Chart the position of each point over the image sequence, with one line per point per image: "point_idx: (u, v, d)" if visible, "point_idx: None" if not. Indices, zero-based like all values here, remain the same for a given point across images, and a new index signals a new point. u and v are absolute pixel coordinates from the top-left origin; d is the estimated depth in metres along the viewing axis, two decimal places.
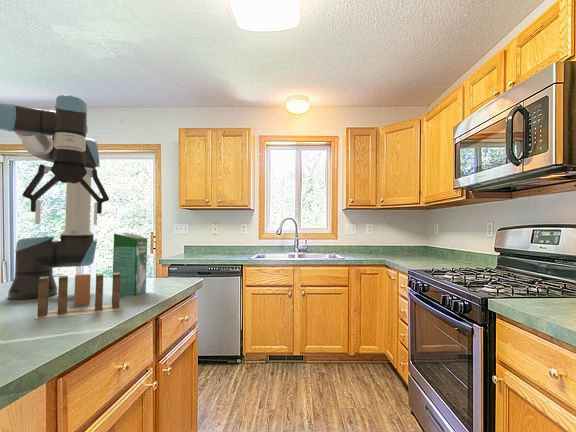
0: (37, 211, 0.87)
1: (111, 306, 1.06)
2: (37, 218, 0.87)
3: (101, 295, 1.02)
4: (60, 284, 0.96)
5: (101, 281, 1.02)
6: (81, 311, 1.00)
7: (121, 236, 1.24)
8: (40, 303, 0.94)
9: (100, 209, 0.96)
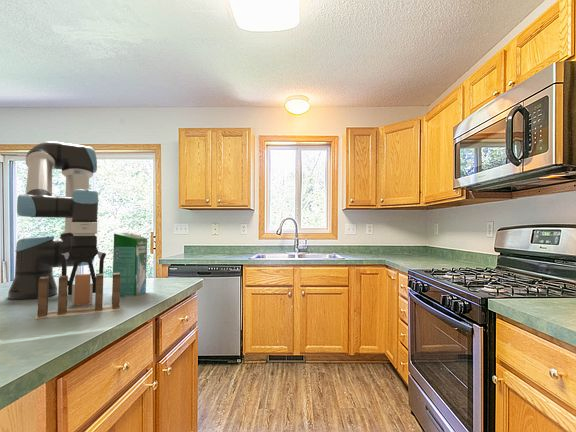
0: (73, 295, 1.07)
1: (111, 306, 1.06)
2: (73, 300, 1.07)
3: (101, 295, 1.02)
4: (60, 284, 0.96)
5: (101, 281, 1.02)
6: (81, 311, 1.00)
7: (121, 236, 1.24)
8: (40, 303, 0.94)
9: (95, 289, 1.11)
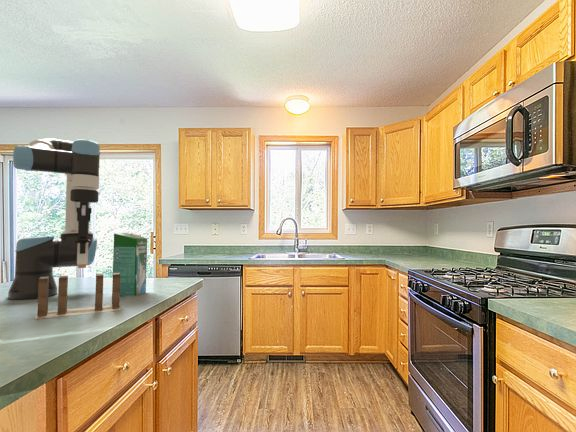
0: None
1: (111, 306, 1.06)
2: None
3: (101, 295, 1.02)
4: (60, 284, 0.96)
5: (101, 281, 1.02)
6: (81, 311, 1.00)
7: (121, 236, 1.24)
8: (40, 303, 0.94)
9: (79, 249, 0.98)
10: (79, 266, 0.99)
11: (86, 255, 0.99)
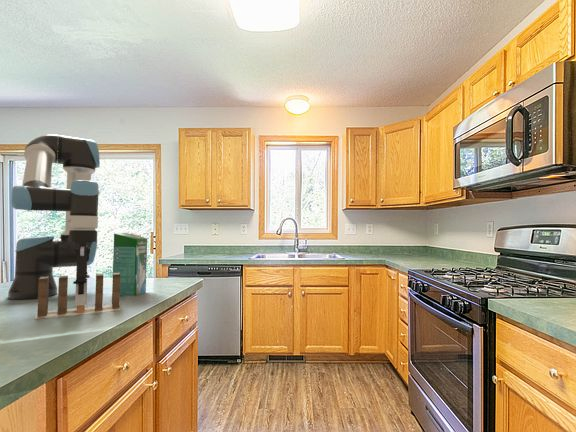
0: None
1: (111, 306, 1.06)
2: None
3: (101, 295, 1.02)
4: (60, 284, 0.96)
5: (101, 281, 1.02)
6: None
7: (121, 236, 1.24)
8: (40, 303, 0.94)
9: (78, 290, 0.96)
10: (77, 311, 0.98)
11: (85, 295, 0.97)
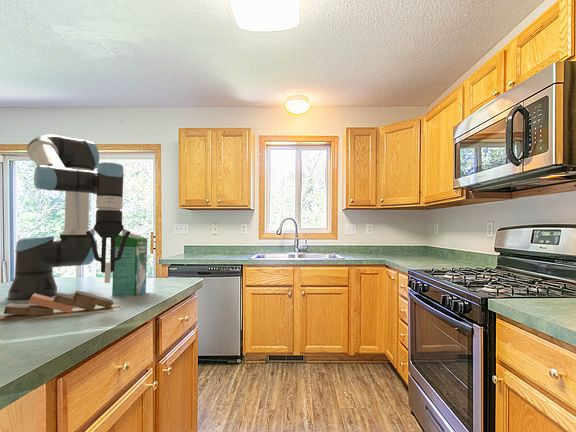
0: (106, 272, 1.03)
1: None
2: (106, 278, 1.03)
3: (79, 301, 0.99)
4: (13, 312, 0.91)
5: (62, 298, 0.97)
6: (81, 311, 1.00)
7: (121, 236, 1.24)
8: None
9: (113, 268, 1.05)
10: (69, 311, 0.97)
11: None
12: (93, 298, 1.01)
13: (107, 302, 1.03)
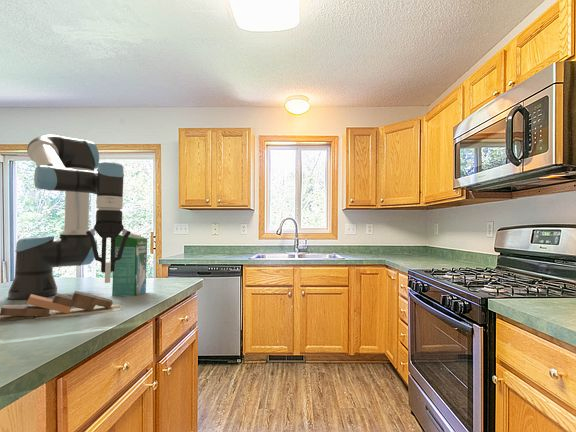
0: (106, 272, 1.03)
1: (111, 306, 1.06)
2: (106, 278, 1.03)
3: (78, 302, 0.98)
4: (9, 313, 0.89)
5: (62, 298, 0.96)
6: (81, 311, 1.00)
7: (121, 236, 1.24)
8: None
9: (113, 268, 1.05)
10: (67, 312, 0.97)
11: None
12: (92, 298, 1.01)
13: (106, 302, 1.03)
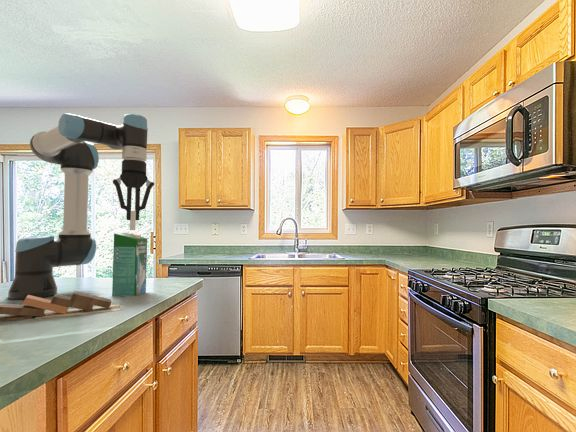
0: (132, 219, 1.07)
1: (111, 306, 1.06)
2: (132, 225, 1.07)
3: (76, 302, 0.98)
4: (4, 312, 0.89)
5: (60, 299, 0.96)
6: (81, 311, 1.00)
7: (121, 236, 1.24)
8: None
9: (138, 216, 1.09)
10: (64, 312, 0.97)
11: None
12: (91, 298, 1.00)
13: (105, 302, 1.02)
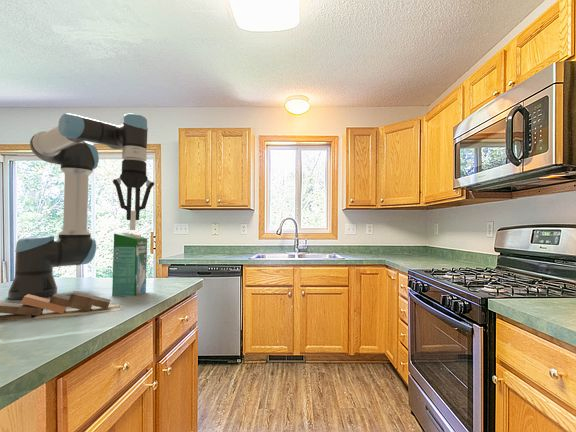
0: (132, 219, 1.07)
1: (111, 306, 1.06)
2: (132, 225, 1.07)
3: (74, 302, 0.98)
4: (1, 311, 0.90)
5: (58, 299, 0.97)
6: (81, 311, 1.00)
7: (121, 236, 1.24)
8: None
9: (138, 216, 1.09)
10: (61, 312, 0.97)
11: None
12: (89, 298, 1.00)
13: (103, 302, 1.02)
